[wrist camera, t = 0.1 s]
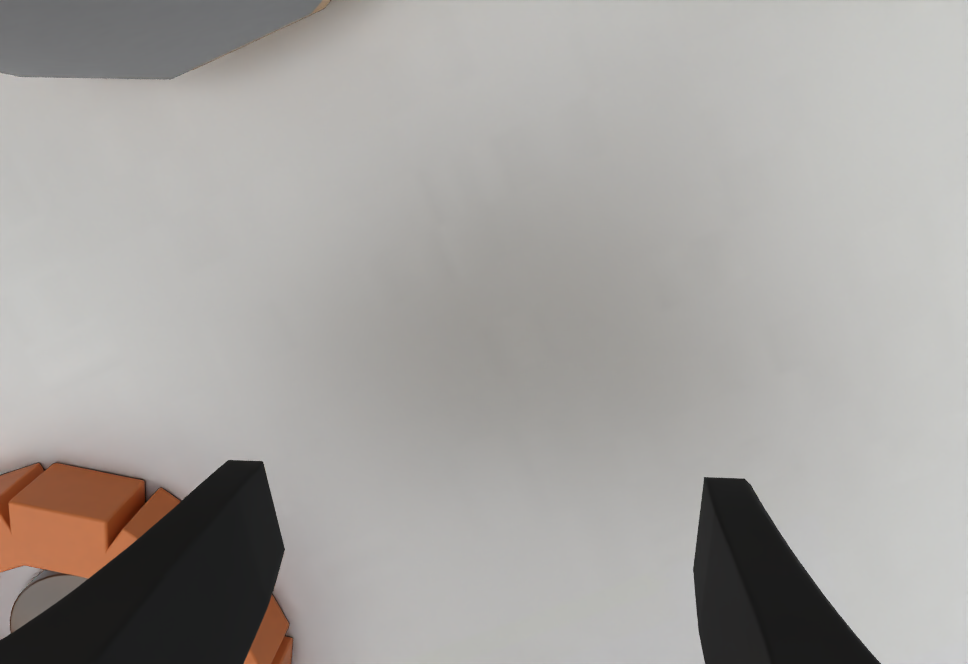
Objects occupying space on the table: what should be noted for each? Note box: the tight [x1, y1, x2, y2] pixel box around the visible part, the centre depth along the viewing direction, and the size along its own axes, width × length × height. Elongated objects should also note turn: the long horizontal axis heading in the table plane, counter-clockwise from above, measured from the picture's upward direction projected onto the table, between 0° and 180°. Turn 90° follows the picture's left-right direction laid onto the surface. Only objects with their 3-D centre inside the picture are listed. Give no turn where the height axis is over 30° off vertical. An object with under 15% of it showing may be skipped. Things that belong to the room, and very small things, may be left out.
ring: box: [0, 463, 293, 664], centre depth 29 cm, size 14×14×2 cm
